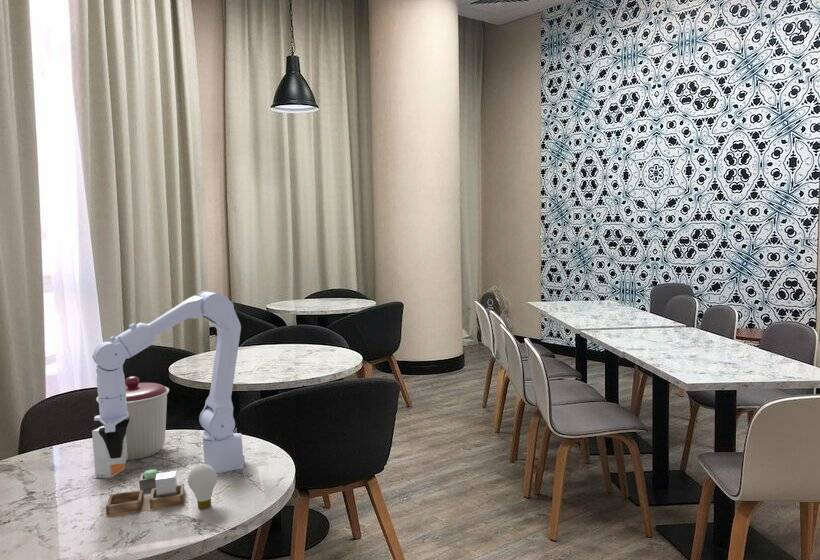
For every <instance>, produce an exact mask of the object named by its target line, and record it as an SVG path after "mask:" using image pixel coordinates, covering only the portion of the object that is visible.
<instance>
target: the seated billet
mask: <svg viewBox="0 0 820 560" xmlns="http://www.w3.org/2000/svg"><path fill="white" fill-rule="evenodd" d="M177 477H178V476H177V471H176V470H173V471H165V472H162V473H157V475H156V479H155V482H156V494H157V498H160V497H167V496H174V495H178V490H177V485H178V480H177Z"/></svg>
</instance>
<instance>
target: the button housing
mask: <svg viewBox="0 0 820 560" xmlns="http://www.w3.org/2000/svg"><path fill="white" fill-rule="evenodd" d="M157 473H163V470H157ZM155 479H156V477H154V478H147V479H145V478H144V472H142V473H140V476H139V480H138V481H139V482H138V484H139V490H143V492H144V491H145V492H146V491H152V488H156V482H155Z"/></svg>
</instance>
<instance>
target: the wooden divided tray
mask: <svg viewBox="0 0 820 560" xmlns="http://www.w3.org/2000/svg"><path fill="white" fill-rule="evenodd" d="M177 490H178V495H174V496H167V497H160V498H157V494H156V488H152V490H150V495H145V494H144V491H143V490H140V489H139V490H133V491H126V492H120V493H118V492H117V493H113V494H109V496H108V499H107V502H106V506H105V516H104V517H105V518H109V517H115V516H119V515H128V514H134V513H139V512H140V513H141V512H146V511H153V510H160V509H168V508H174V507H179V506H185V503H186V502H185V501H186V489H185V484H184V483H180V484H177Z"/></svg>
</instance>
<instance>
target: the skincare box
mask: <svg viewBox="0 0 820 560" xmlns="http://www.w3.org/2000/svg"><path fill="white" fill-rule="evenodd" d="M100 428H105V427H104V425H102V426H99V427H98V428H96V429H94V430H91V435H92V438H91V439H92V447H93V461H94V475H95V478H103V479H105V478H106V479H109V478H112V477H114V476H115V475H117V474H119V473H121V472H123V471H124V470H126V468H125V463H122V464H114V465H107V466H106V455H105V444H104V440H103V438H102V437H101V436H100V434H99V429H100Z"/></svg>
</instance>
